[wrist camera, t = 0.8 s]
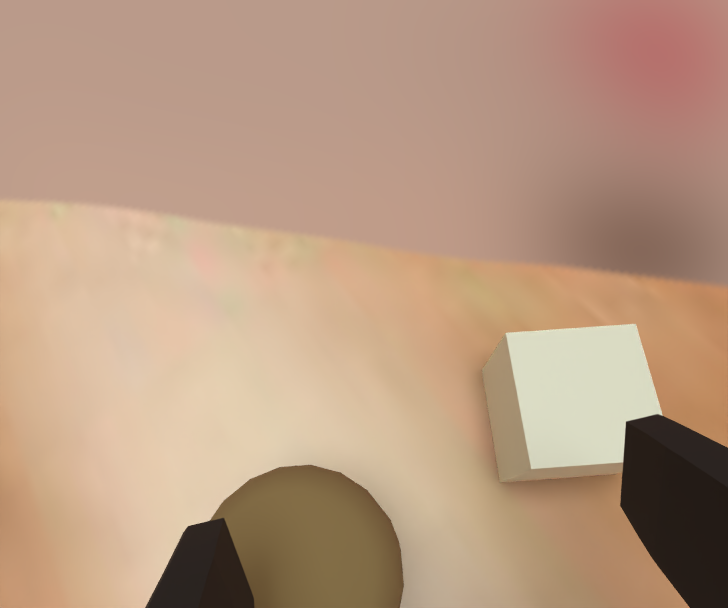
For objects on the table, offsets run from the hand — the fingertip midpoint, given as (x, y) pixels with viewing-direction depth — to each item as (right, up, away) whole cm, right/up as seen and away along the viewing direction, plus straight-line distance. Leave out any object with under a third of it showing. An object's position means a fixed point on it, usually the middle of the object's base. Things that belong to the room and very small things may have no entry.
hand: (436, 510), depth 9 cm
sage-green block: (+7, -2, +15) cm, 16 cm away
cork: (-3, -7, +12) cm, 15 cm away
